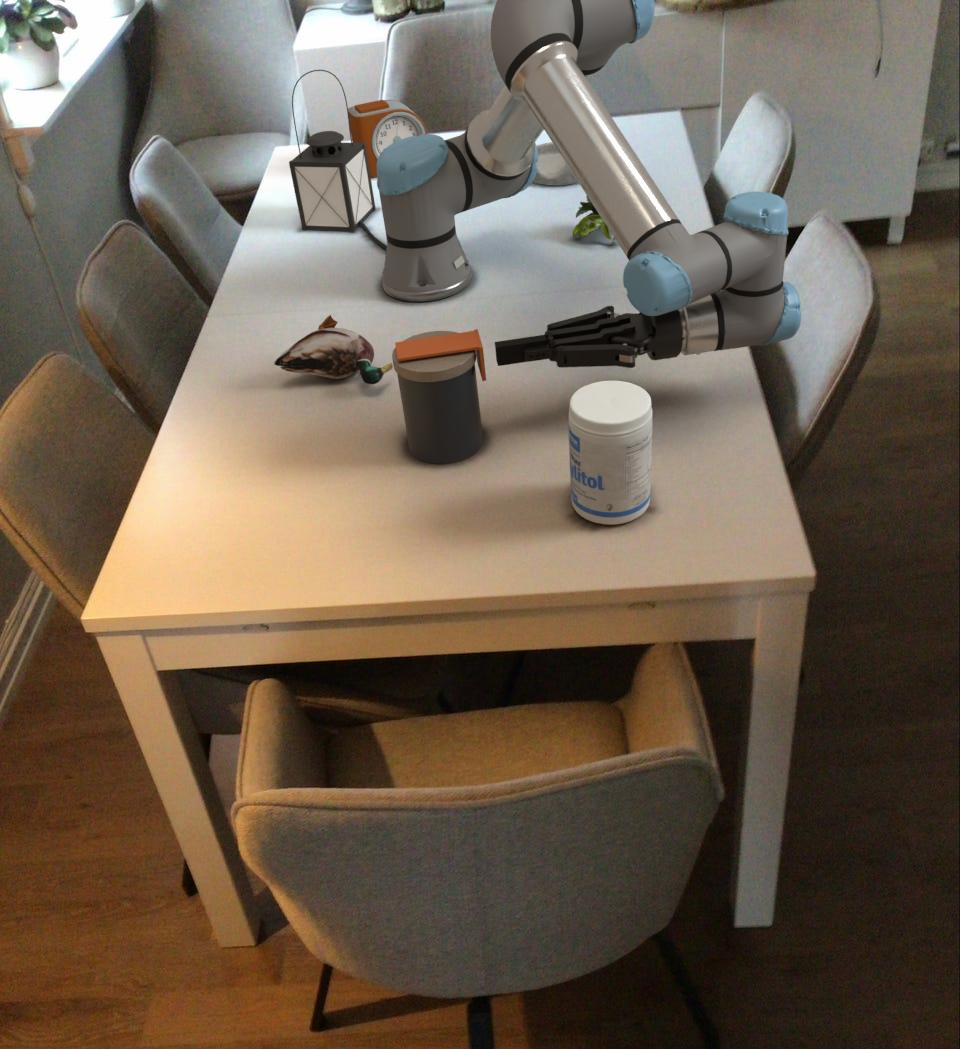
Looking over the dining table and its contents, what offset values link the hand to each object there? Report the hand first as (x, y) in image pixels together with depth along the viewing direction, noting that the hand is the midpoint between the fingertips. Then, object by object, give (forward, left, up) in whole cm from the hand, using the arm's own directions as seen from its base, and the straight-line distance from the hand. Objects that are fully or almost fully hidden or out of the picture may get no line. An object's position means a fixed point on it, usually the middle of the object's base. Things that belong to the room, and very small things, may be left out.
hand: (496, 354), depth 138 cm
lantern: (-80, +32, -12) cm, 88 cm away
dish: (-60, +73, -12) cm, 96 cm away
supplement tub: (+22, -3, -12) cm, 25 cm away
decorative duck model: (-29, -7, -12) cm, 33 cm away
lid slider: (-4, -6, -2) cm, 8 cm away
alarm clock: (-94, +57, -12) cm, 111 cm away
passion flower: (-31, +56, -12) cm, 66 cm away
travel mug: (-4, -7, -12) cm, 14 cm away
